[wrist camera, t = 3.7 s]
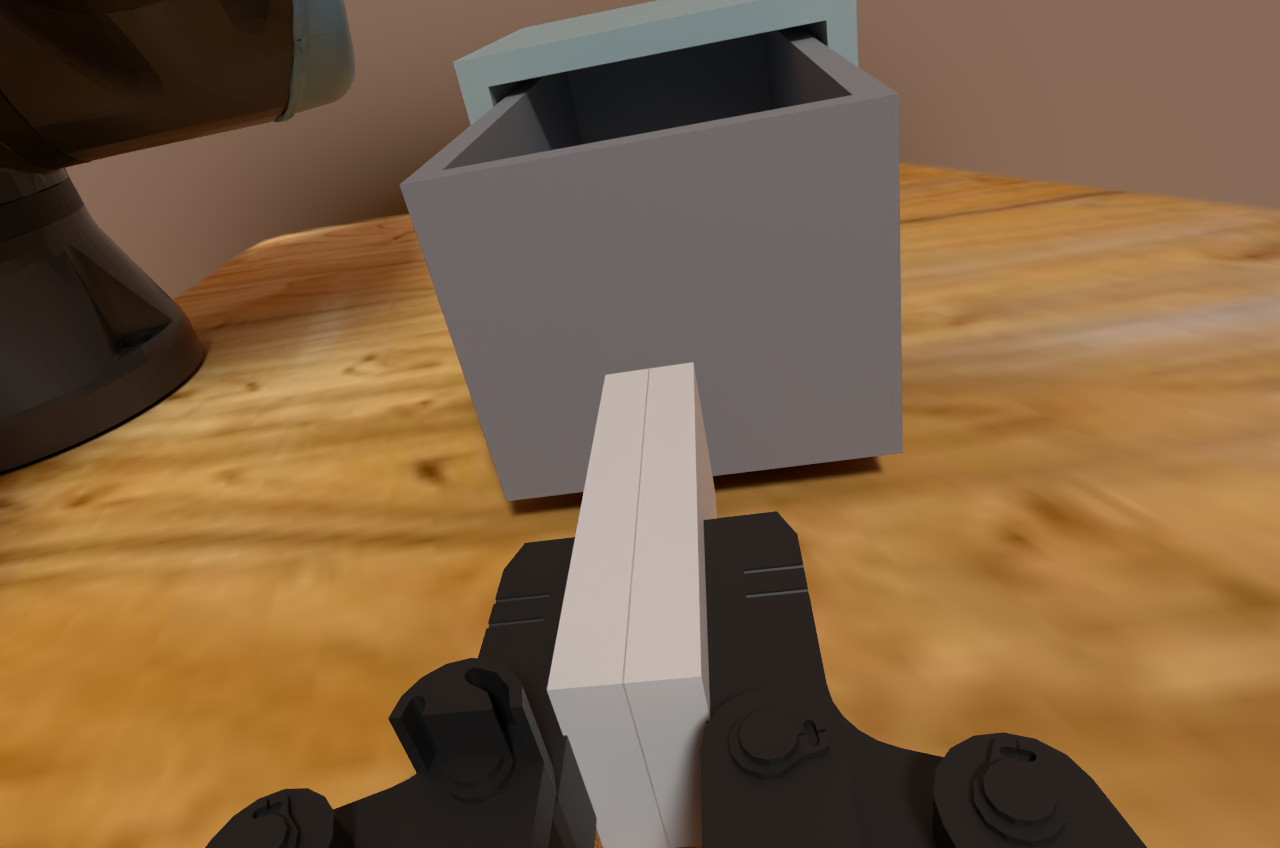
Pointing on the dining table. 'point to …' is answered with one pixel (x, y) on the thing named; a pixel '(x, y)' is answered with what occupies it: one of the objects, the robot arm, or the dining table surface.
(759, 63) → the tray
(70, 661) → the dining table surface
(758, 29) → the sleeve
